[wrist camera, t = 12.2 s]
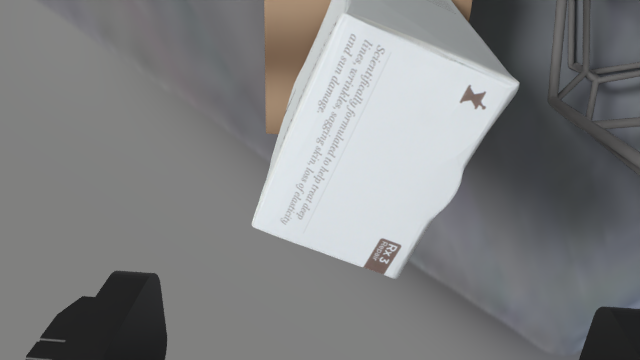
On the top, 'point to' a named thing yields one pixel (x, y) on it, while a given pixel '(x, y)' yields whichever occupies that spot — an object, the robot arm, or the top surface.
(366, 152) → the skincare box
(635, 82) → the top surface
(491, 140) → the top surface
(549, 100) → the geometric lantern
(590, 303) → the top surface
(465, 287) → the top surface
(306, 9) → the light brown block
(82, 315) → the robot arm
